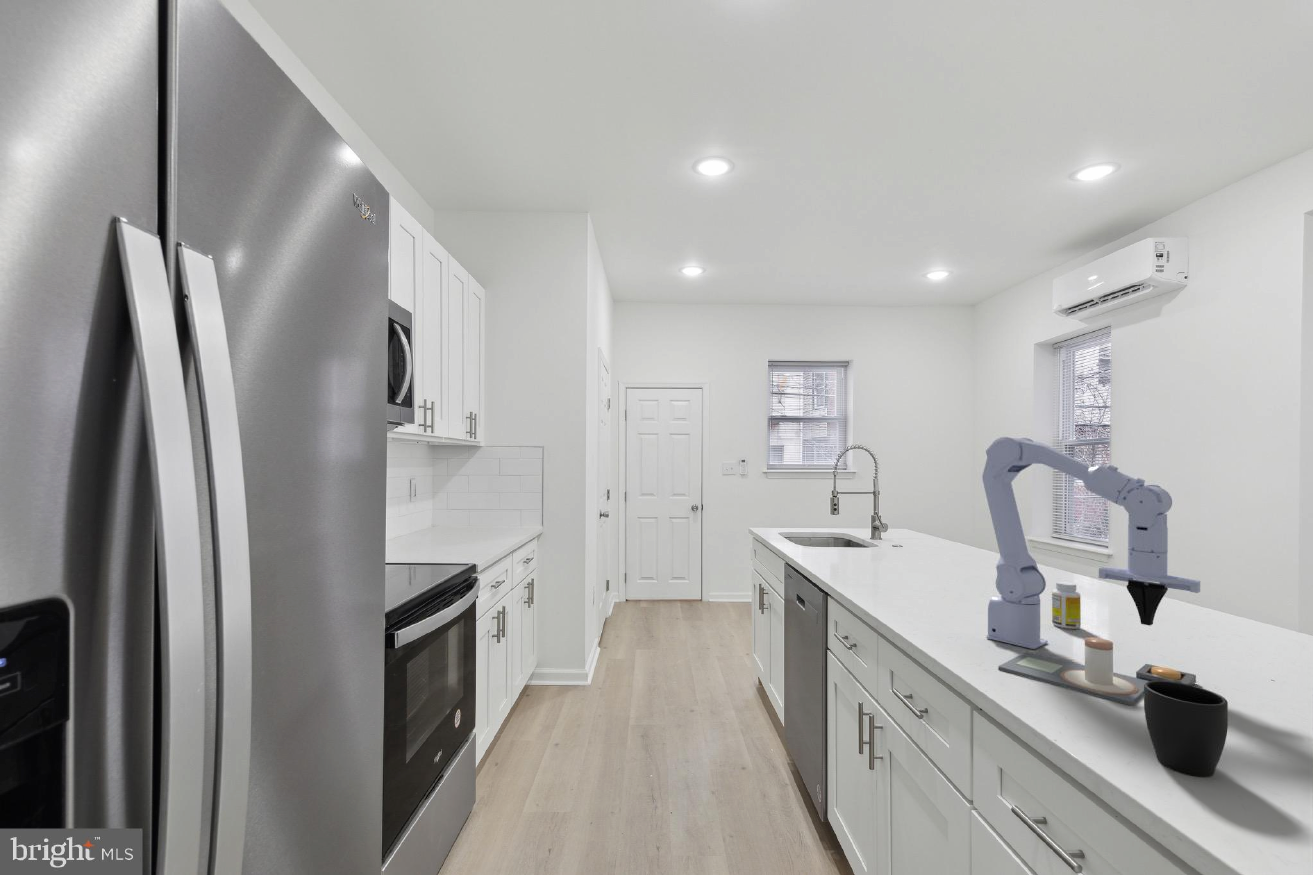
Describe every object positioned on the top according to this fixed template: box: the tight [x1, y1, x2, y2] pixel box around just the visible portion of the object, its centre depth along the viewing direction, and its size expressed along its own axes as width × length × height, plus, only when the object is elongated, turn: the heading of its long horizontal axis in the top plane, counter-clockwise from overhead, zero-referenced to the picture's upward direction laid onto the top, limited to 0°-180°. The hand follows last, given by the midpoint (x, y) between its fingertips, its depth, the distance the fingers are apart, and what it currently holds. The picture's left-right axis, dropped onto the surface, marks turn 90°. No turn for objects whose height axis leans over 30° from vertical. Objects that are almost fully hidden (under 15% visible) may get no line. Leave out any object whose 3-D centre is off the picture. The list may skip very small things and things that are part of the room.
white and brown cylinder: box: [1084, 636, 1114, 686], centre depth 105 cm, size 4×4×7 cm
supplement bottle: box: [1051, 580, 1082, 630], centre depth 141 cm, size 6×6×10 cm
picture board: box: [997, 651, 1149, 707], centre depth 109 cm, size 20×14×1 cm
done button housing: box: [1135, 663, 1197, 686], centre depth 107 cm, size 7×7×2 cm
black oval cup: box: [1143, 680, 1229, 778], centre depth 79 cm, size 8×12×10 cm
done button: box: [1151, 666, 1181, 681], centre depth 107 cm, size 4×4×2 cm
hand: (1146, 623), depth 111 cm, fingers closed
